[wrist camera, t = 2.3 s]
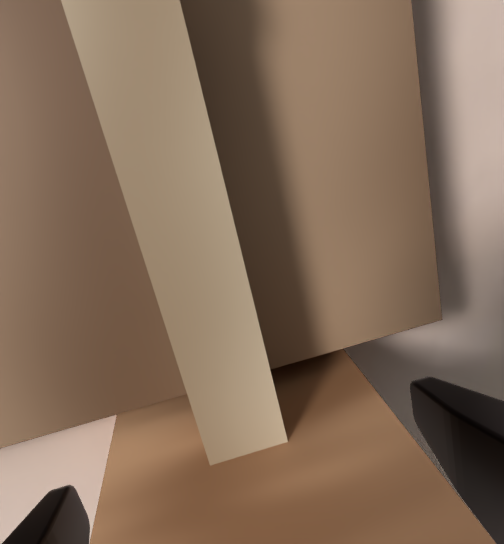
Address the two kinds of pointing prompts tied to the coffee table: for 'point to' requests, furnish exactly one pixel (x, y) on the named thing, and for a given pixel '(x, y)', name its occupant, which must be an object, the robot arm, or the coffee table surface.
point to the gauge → (231, 345)
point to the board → (241, 193)
